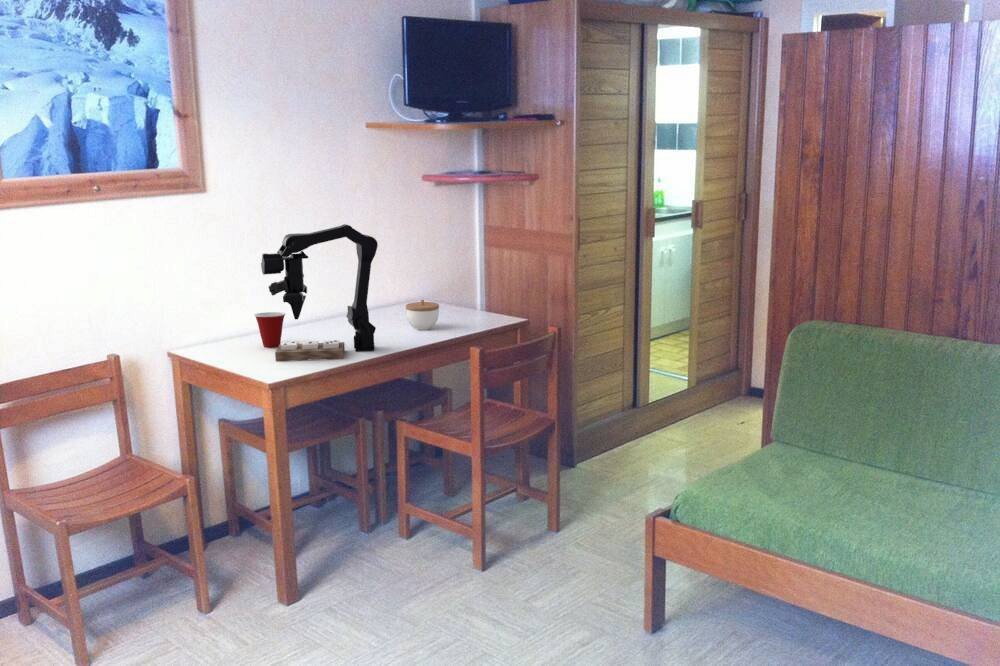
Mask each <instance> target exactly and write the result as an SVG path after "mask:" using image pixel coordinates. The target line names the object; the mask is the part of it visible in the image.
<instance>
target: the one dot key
mask: <svg viewBox="0 0 1000 666" xmlns="http://www.w3.org/2000/svg"><path fill="white" fill-rule="evenodd" d="M318 343H319V340H310V341H309V340H307V341H306V340H305V341H303V342H302V343H301V344H302V349H318V346H319V344H318Z"/></svg>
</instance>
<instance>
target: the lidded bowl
mask: <svg viewBox="0 0 1000 666" xmlns="http://www.w3.org/2000/svg"><path fill="white" fill-rule="evenodd" d="M439 308H440V305H439V303H436V302H431V301H425V299H420V301H416V302H410V303H407V304H406V305H405V309H406V310H405V311H406V320H407V321H408V323H409V325H410V326H411V327H412V328H413V330H415V329H418V330H417V331H428V329H429V330H432V329H433V327H434V326H435V325H436V324H437V322H438V319H439V315H440V309H439ZM431 328H432V329H431Z"/></svg>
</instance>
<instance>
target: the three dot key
mask: <svg viewBox="0 0 1000 666" xmlns="http://www.w3.org/2000/svg"><path fill="white" fill-rule="evenodd" d="M339 342H340V340H338V339H337V340H324V341H323V342H322V343H323V349H328V348H339Z"/></svg>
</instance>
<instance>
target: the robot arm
mask: <svg viewBox="0 0 1000 666" xmlns="http://www.w3.org/2000/svg"><path fill="white" fill-rule="evenodd" d="M343 238H347V239H348V240H349V241H351V242H352V243H354V244H355V245H356V246H355V247H356V255H357V256H356V257H357V271H356V278H355V279H356V280H355V287H354V288H355V289H354V298H353V302H352V304H351V305H347V312H346V316H345V317H346V318H347V321H348V323H349V324H350V326H352V327H353V329H354V331H355V332H354V335H353V348H354V349H355V351H354V352H368V351H370V352H373V351H375V350H376V349H375V348H376V347H375V335H374V334H375V332H376V326H374V325H373V324H372V323H371V322H370V315H369V314H370V313H369V308H368V303H367V302H368V294H369V287H370V286H369V285H370V276H371V268H372V264H373V263H372V262H373V260H374V258H375V256H376V253H377V249H378V245H379V244H378V243H379V242H378V240H376V238H375V237H374V236H370V235H368V234H363V233H361V232H360V231H358V230H357V229H355V228H354V227H352V226H351V225H350V224H346V223H345V224H342V225H338V226H335V227H334V226H333V227H330V228H325V229H322V230H317V231H313V232H309V233H307V232H306V233H304V232H303V233H301V232H300V233H298V232H297V233H288V234H286V235H284V237H283V238H282V244H281V246H280V247H279V249H278V250H277V252H276V253H262V254H261V263H260V266H261V272H262V275H277V274H281V273H282V272H283V271H284V270H285V276H284V277H283V279H282V280H280V281H274V282H271V283H270V285H268V290H269V293H270V295H271V296H272V297H273V296H276V295H277V294H280V293H282V292H284V294H283V296H282V302H283V303H287V304H288V305H290V307H291V311H292V314H293V317H294V320H298V319H299V318H300V316H301V313H302V309H303V306H304V303H305V301H306V297H307V295H304V294H308V286H307V285H306V284H304V278H305V273H304V265H303V260H304V259H309V256H308V254H306V253H305V252H304V250H307V249H308V248H310V247H312V246H314V245H318V244H321V243H327V242H331V241H335V240H340V239H343Z"/></svg>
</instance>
